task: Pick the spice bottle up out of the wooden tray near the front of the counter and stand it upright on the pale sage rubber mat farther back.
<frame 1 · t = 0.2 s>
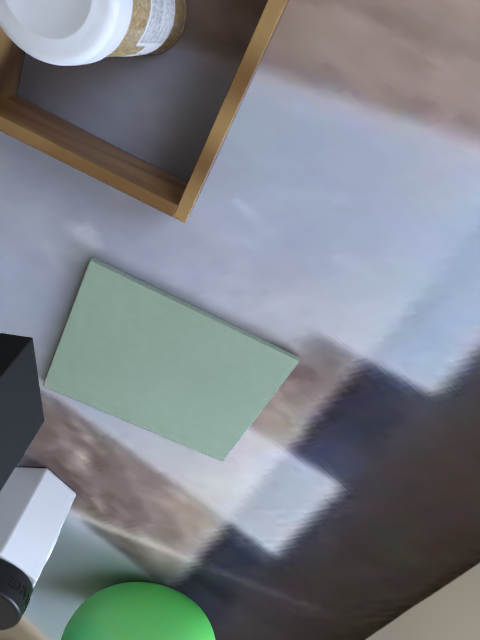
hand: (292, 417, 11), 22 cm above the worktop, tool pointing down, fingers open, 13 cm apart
mat: (166, 369, 39), on the worktop
wooden tray: (149, 8, 26), on the worktop
spice bottle: (150, 8, 26), resting in wooden tray
jar: (37, 489, 50), on the worktop
toy bird: (153, 593, 59), on the worktop
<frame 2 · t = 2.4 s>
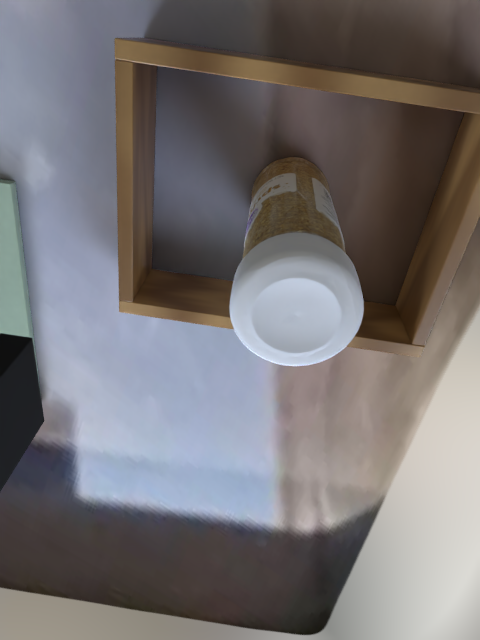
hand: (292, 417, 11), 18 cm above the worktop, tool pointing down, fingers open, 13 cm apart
wooden tray: (290, 196, 27), on the worktop
spice bottle: (290, 195, 27), resting in wooden tray
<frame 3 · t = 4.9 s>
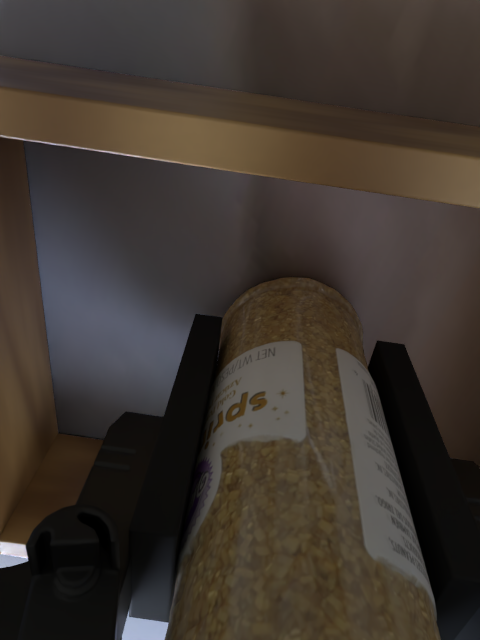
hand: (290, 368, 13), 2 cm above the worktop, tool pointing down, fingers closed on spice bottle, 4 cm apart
wooden tray: (290, 336, 15), on the worktop
spice bottle: (290, 333, 15), resting in wooden tray, touching gripper
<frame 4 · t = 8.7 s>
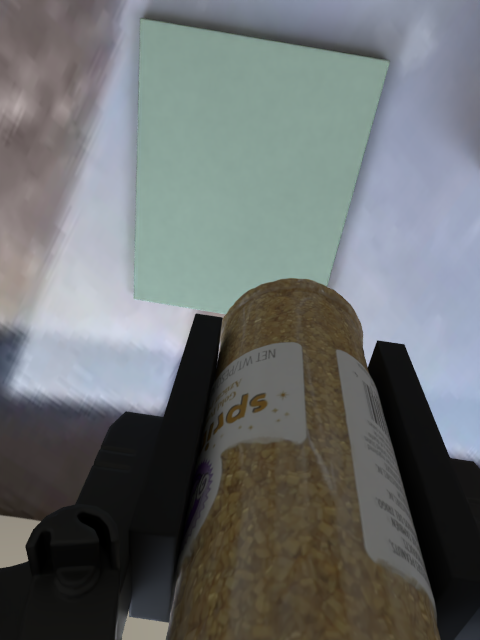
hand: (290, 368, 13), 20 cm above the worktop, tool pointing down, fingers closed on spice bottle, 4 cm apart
mat: (242, 196, 30), on the worktop
spice bottle: (290, 334, 15), point 18 cm above the worktop, touching gripper
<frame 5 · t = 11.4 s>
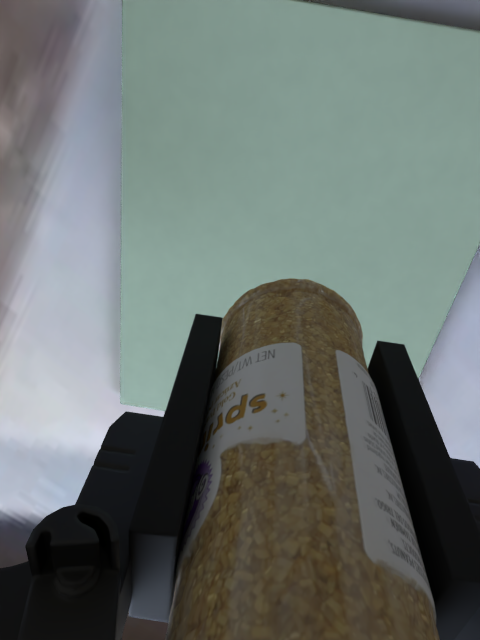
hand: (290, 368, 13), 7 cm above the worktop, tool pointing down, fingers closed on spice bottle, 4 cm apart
mat: (288, 264, 19), on the worktop
spice bottle: (290, 334, 15), point 5 cm above the worktop, touching gripper
when the fingers open (2 cm above the worktop, at t = 12.9 s): spice bottle stays where it is, resting on mat.
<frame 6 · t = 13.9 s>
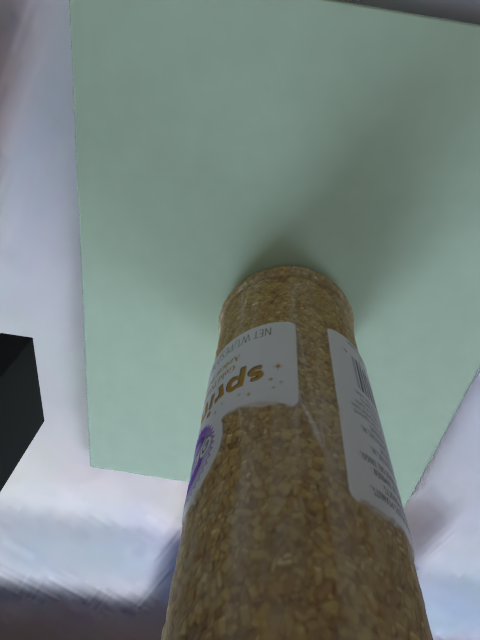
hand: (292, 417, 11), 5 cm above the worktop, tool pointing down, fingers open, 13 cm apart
mat: (285, 313, 16), on the worktop
spice bottle: (286, 320, 16), resting on mat
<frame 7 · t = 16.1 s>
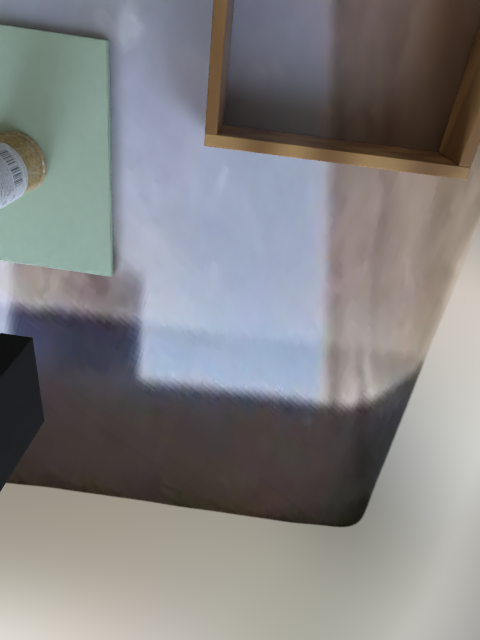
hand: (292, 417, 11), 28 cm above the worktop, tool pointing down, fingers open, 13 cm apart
mat: (24, 159, 36), on the worktop
wooden tray: (349, 44, 31), on the worktop
spice bottle: (21, 160, 36), resting on mat
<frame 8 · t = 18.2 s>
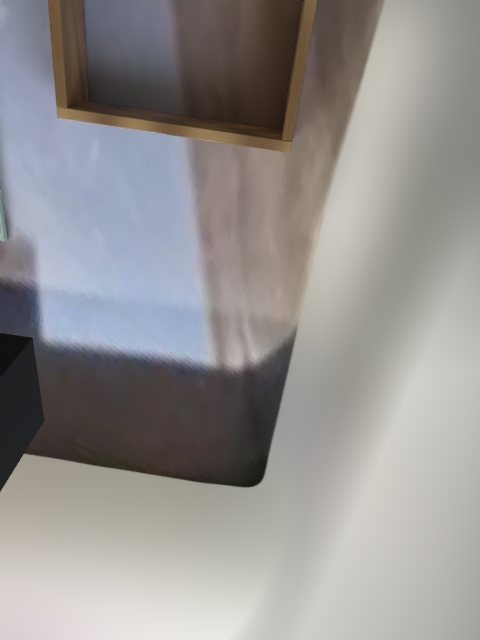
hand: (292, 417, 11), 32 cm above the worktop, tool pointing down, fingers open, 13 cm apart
wooden tray: (190, 29, 34), on the worktop
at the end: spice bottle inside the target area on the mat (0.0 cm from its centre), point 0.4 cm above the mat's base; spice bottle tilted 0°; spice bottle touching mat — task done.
